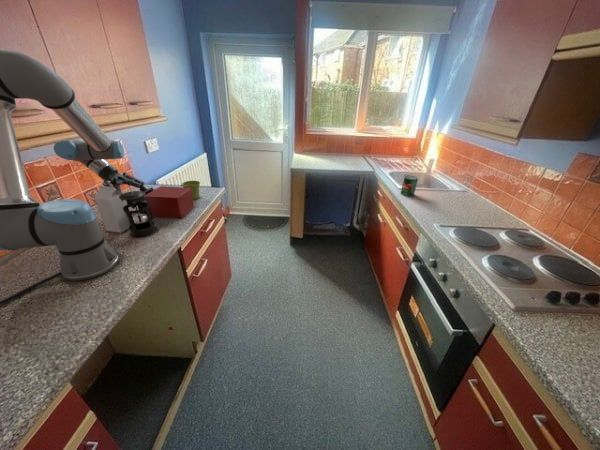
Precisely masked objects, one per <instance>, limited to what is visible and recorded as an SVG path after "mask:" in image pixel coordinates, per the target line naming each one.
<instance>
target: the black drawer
mask: <svg viewBox="0 0 600 450" xmlns="http://www.w3.org/2000/svg"><path fill="white" fill-rule="evenodd" d="M155 189H156V188H154V187H149V188H147V190H146V191H144V192H145V193H146V195H147V194H148V193H150V192H152V191H153V190H155ZM144 201H145V200H144ZM142 202H143V201H142ZM140 209H143V208H142V205H137V210H140ZM141 214H144V212H141V213H139V215H141Z"/></svg>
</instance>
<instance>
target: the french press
mask: <svg viewBox="0 0 600 450" xmlns="http://www.w3.org/2000/svg"><path fill="white" fill-rule="evenodd" d="M133 181H134V179H126V180H123V181H122V183H127V184H128V185H127V184H126V185H127V186H128V187H129V190H130V191H127V192H124V193H123V194H121V195H120V196H119V198H120V199H121V201H122V202H123V200H129V201H132V202H134V203H131V204H127V205H126V206H124V207H123V211H124V213H126V214H127V217H128V222H129V223H130V227H129V228H128V229H129V232H130V236H131V237H132V238H136V239H137V238H146V237H149V236H151V235H153V234H155V233H156V232H157V228H156V225H155V223H154V221H153V219H154V217H152V214H151V210H150V207H149V203H148V201H144V200H145V199H146V198H145V195H146V193H145V192H143V191H140V190H134V191H133V190H132V186H130V185H131V184H130V182H133ZM142 201H143V202H142ZM136 205H142V208H143V209H140V210H138V206H136ZM132 206H135V209H134V210H130V208H131V207H132ZM141 212H144V213H143V214H140V213H141ZM133 215H134V216H133Z"/></svg>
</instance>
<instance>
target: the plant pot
mask: <svg viewBox="0 0 600 450" xmlns="http://www.w3.org/2000/svg"><path fill="white" fill-rule="evenodd" d="M200 184H201V181H200V180H187V181H186V180H185V181H183V182H182V183H181V186H182V187H185V188H191V192H192V197H193V201H194V200H197V199H199V198H200V186H201V185H200Z"/></svg>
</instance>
